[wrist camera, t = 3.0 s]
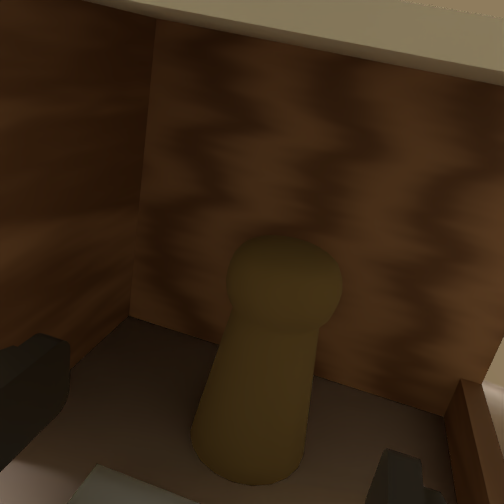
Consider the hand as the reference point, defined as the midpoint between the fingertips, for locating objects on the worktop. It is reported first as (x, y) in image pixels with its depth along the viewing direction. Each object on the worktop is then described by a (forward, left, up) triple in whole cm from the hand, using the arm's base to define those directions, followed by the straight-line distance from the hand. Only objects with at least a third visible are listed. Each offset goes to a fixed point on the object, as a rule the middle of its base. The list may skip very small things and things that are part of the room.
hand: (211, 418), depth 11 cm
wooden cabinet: (0, +12, -10) cm, 15 cm away
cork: (0, +11, -10) cm, 15 cm away
